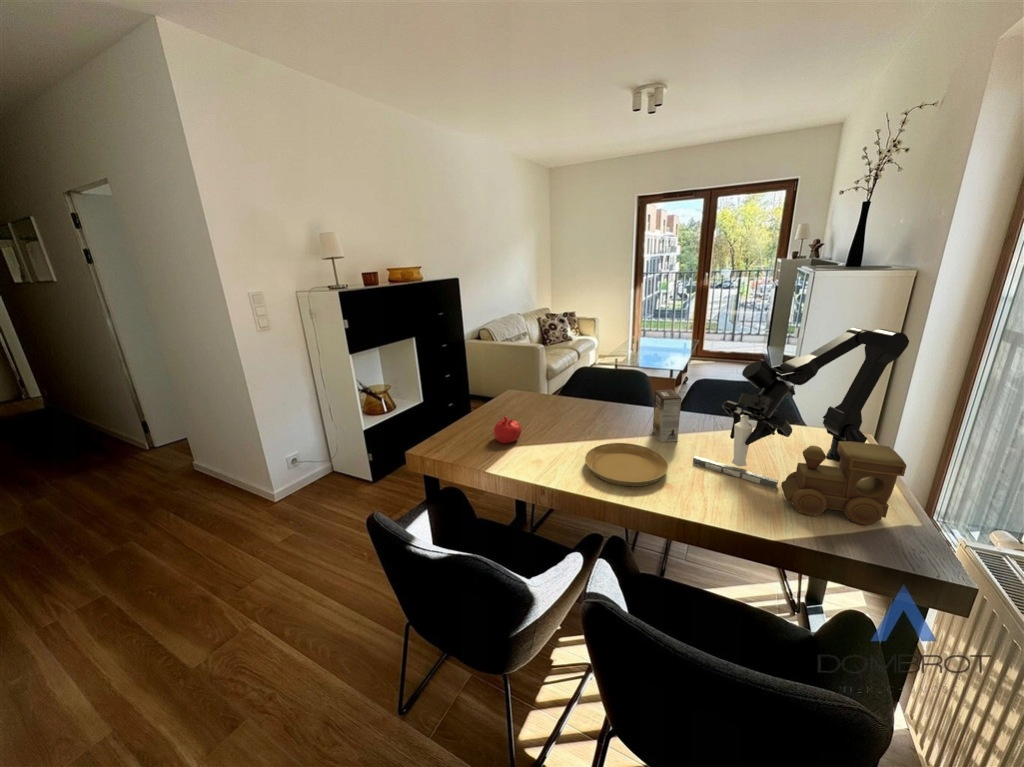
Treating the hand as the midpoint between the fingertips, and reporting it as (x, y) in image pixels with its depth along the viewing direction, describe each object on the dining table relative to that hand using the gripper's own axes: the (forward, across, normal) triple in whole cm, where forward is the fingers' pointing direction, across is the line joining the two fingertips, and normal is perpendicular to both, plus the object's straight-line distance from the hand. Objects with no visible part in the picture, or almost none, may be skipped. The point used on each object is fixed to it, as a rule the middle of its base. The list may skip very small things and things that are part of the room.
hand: (738, 441), depth 116 cm
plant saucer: (+26, -15, -13) cm, 33 cm away
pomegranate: (+42, -52, -30) cm, 74 cm away
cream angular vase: (+4, 0, +6) cm, 8 cm away
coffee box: (+8, -27, +6) cm, 29 cm away
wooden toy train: (+4, +24, +9) cm, 26 cm away
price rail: (+9, +2, +4) cm, 10 cm away
